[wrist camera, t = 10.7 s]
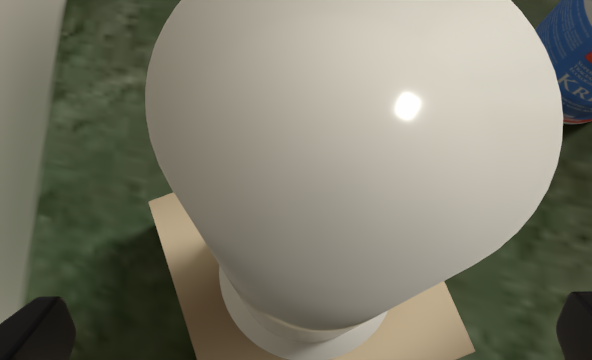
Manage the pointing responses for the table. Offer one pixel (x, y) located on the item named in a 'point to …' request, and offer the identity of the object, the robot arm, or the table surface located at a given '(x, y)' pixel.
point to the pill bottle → (571, 56)
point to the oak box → (248, 356)
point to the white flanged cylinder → (349, 151)
